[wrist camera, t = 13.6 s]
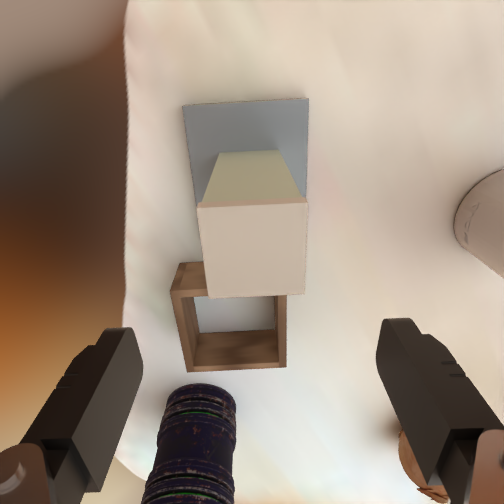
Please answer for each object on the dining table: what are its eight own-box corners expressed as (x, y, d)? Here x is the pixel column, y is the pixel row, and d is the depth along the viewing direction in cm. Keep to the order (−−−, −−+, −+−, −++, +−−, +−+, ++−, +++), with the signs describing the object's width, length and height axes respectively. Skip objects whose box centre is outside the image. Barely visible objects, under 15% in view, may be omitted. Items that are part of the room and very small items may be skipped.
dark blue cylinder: (162, 424, 46) (129, 562, 33) (168, 378, 41) (132, 516, 28) (230, 432, 47) (224, 568, 34) (243, 388, 42) (242, 525, 29)
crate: (280, 257, 33) (286, 284, 29) (281, 334, 38) (286, 367, 34) (179, 262, 33) (169, 290, 29) (193, 338, 38) (187, 372, 34)
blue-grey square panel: (306, 98, 26) (308, 98, 25) (302, 234, 32) (304, 239, 31) (184, 105, 26) (182, 105, 25) (203, 240, 32) (202, 245, 31)
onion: (401, 423, 52) (408, 499, 46) (389, 406, 46) (396, 492, 40) (470, 428, 47) (488, 514, 41) (467, 411, 41) (488, 509, 35)
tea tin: (279, 148, 27) (308, 202, 15) (280, 206, 29) (304, 294, 17) (218, 151, 27) (196, 208, 15) (223, 209, 29) (208, 298, 17)
